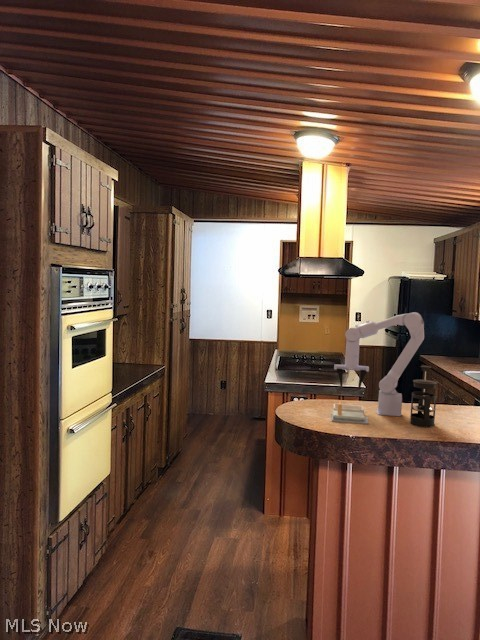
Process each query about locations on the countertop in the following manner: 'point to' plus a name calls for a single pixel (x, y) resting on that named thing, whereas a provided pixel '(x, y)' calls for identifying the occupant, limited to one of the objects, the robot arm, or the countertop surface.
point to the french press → (423, 403)
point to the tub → (349, 408)
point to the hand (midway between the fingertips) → (350, 386)
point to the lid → (347, 414)
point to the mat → (350, 420)
